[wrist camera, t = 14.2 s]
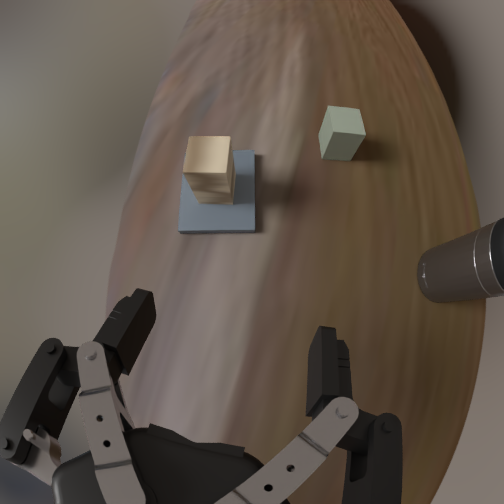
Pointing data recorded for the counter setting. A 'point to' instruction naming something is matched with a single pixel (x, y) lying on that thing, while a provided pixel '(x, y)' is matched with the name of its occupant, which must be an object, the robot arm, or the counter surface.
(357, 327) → the counter surface
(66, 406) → the robot arm
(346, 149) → the sage block
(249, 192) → the slate board
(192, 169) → the birch block
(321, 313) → the counter surface
